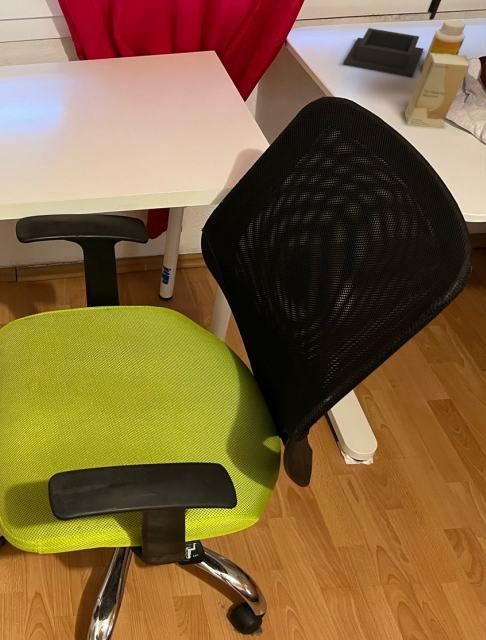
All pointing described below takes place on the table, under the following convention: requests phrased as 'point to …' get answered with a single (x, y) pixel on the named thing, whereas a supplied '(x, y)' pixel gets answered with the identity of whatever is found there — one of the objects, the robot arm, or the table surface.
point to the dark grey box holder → (385, 52)
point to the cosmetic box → (436, 89)
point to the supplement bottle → (447, 39)
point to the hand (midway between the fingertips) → (461, 22)
